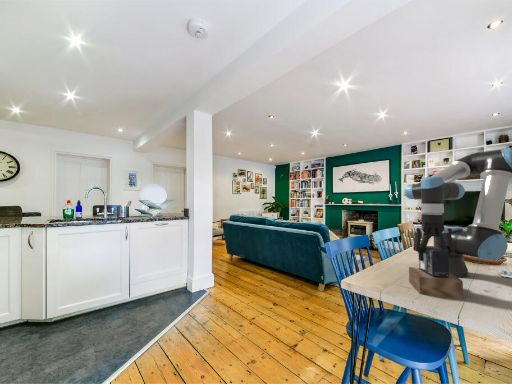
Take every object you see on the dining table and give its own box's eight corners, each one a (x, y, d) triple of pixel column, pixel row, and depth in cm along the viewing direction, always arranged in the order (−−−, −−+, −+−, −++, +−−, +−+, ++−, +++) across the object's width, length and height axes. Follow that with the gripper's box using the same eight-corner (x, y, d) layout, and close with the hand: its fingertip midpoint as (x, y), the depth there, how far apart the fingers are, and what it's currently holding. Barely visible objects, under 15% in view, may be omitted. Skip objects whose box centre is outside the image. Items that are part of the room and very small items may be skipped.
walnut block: (446, 286, 101) (446, 270, 101) (463, 299, 88) (462, 281, 88) (409, 282, 106) (408, 267, 106) (419, 294, 92) (419, 276, 93)
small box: (450, 277, 91) (449, 250, 92) (432, 277, 92) (431, 250, 93) (434, 269, 102) (433, 245, 102) (418, 269, 103) (417, 245, 103)
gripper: (451, 213, 100) (452, 267, 100) (402, 213, 102) (403, 265, 102) (465, 214, 93) (466, 272, 92) (412, 214, 95) (412, 270, 94)
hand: (433, 268), depth 97 cm, fingers open, 7 cm apart
